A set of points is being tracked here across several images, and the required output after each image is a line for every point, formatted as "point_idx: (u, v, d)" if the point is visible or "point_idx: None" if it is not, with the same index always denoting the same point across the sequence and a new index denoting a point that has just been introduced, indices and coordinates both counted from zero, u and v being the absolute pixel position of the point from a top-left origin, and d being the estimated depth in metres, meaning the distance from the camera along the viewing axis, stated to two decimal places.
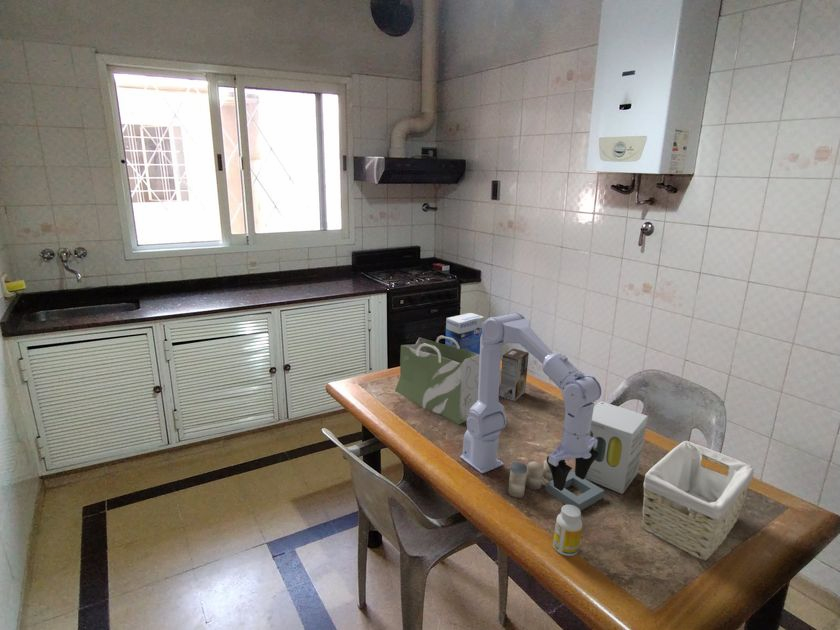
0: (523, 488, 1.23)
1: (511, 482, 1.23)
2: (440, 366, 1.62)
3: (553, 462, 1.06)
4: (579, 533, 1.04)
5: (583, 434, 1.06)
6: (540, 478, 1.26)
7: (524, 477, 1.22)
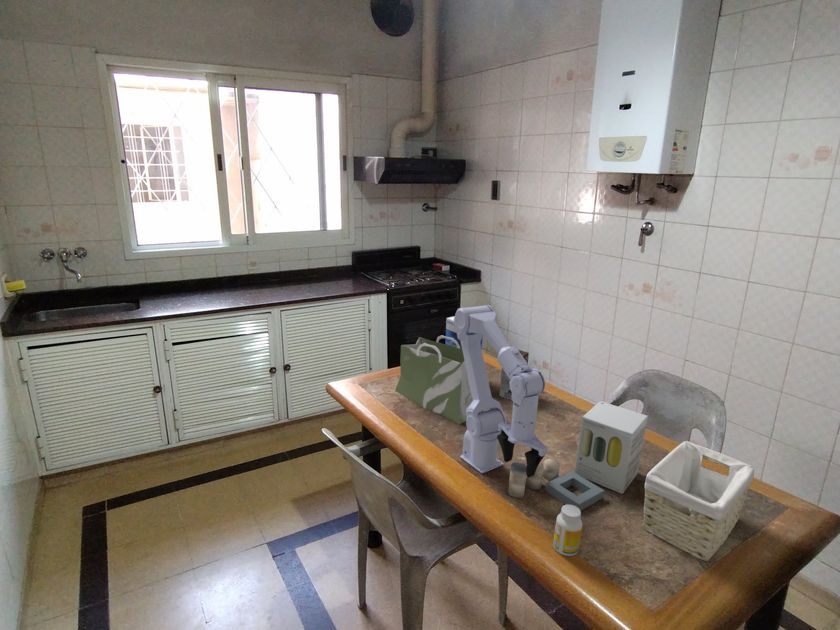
0: (523, 488, 1.23)
1: (511, 482, 1.23)
2: (440, 366, 1.62)
3: None
4: (579, 533, 1.04)
5: (527, 423, 1.17)
6: (540, 478, 1.26)
7: (524, 477, 1.22)
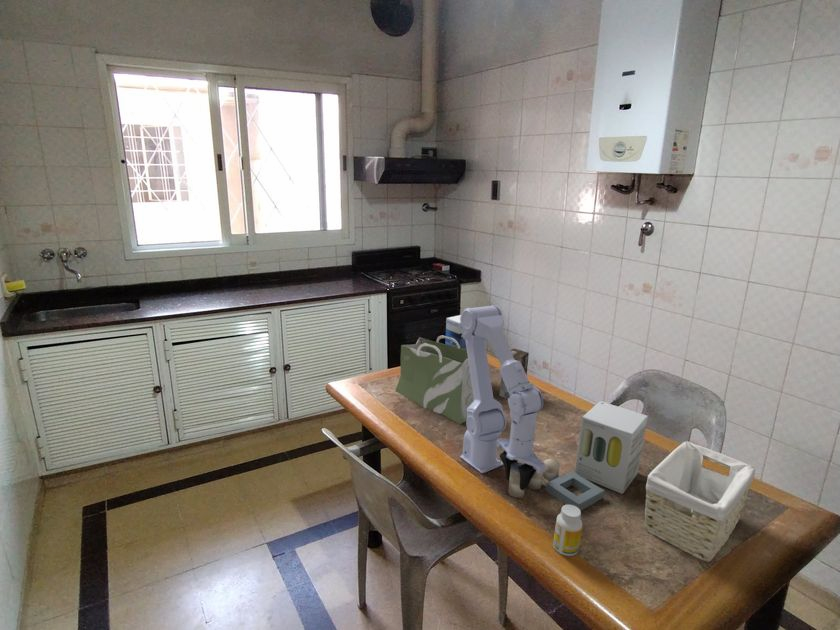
0: None
1: (511, 482, 1.23)
2: (441, 366, 1.62)
3: None
4: (579, 533, 1.04)
5: (525, 440, 1.18)
6: (540, 478, 1.26)
7: None
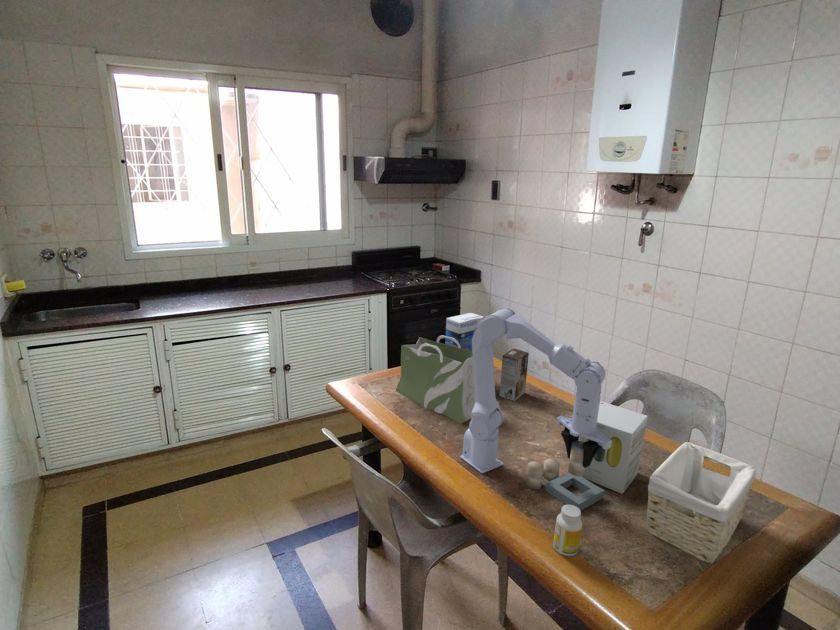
0: None
1: (572, 459, 1.21)
2: (442, 366, 1.62)
3: None
4: (579, 533, 1.04)
5: (595, 415, 1.17)
6: (540, 478, 1.26)
7: None
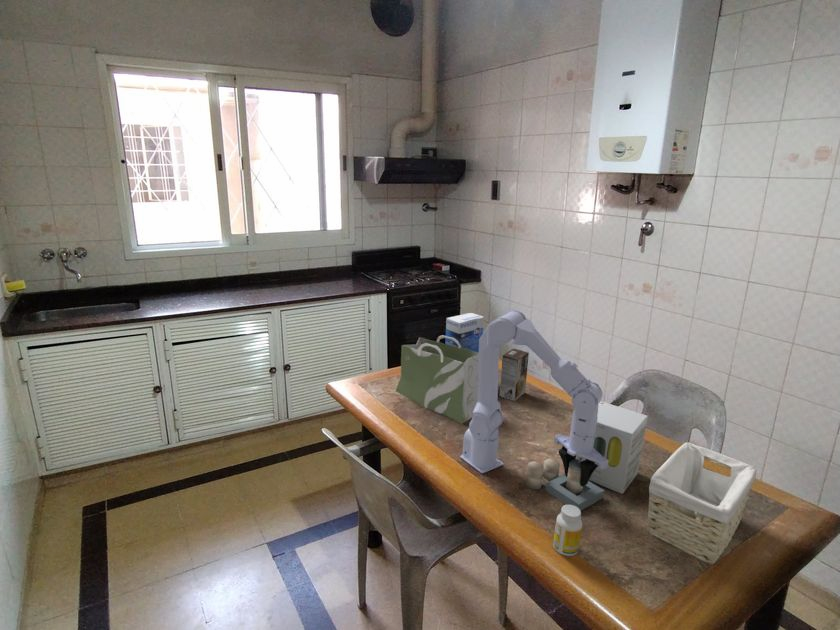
0: None
1: (569, 478, 1.23)
2: (442, 366, 1.62)
3: None
4: (579, 533, 1.04)
5: (593, 435, 1.18)
6: (540, 478, 1.26)
7: None
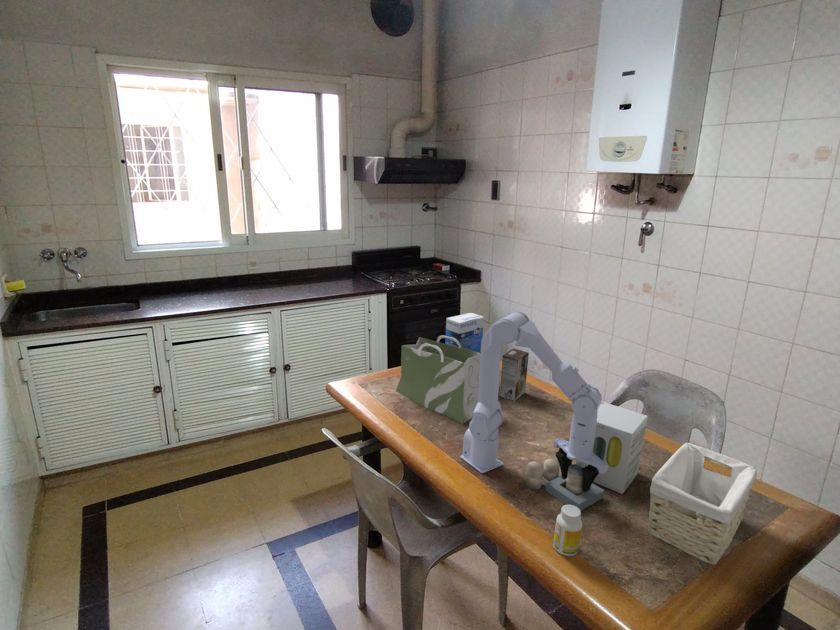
0: (580, 490, 1.23)
1: (568, 483, 1.23)
2: (443, 366, 1.62)
3: None
4: (579, 533, 1.04)
5: (592, 439, 1.18)
6: (540, 478, 1.26)
7: (582, 479, 1.22)
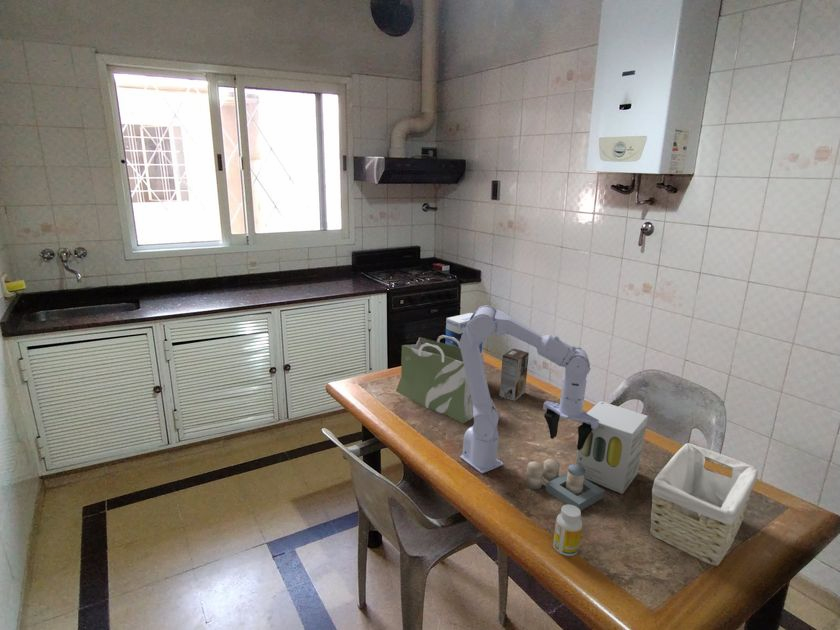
0: (580, 490, 1.23)
1: (568, 483, 1.23)
2: (443, 366, 1.62)
3: None
4: (579, 533, 1.04)
5: (583, 397, 1.25)
6: (540, 478, 1.26)
7: (582, 479, 1.22)
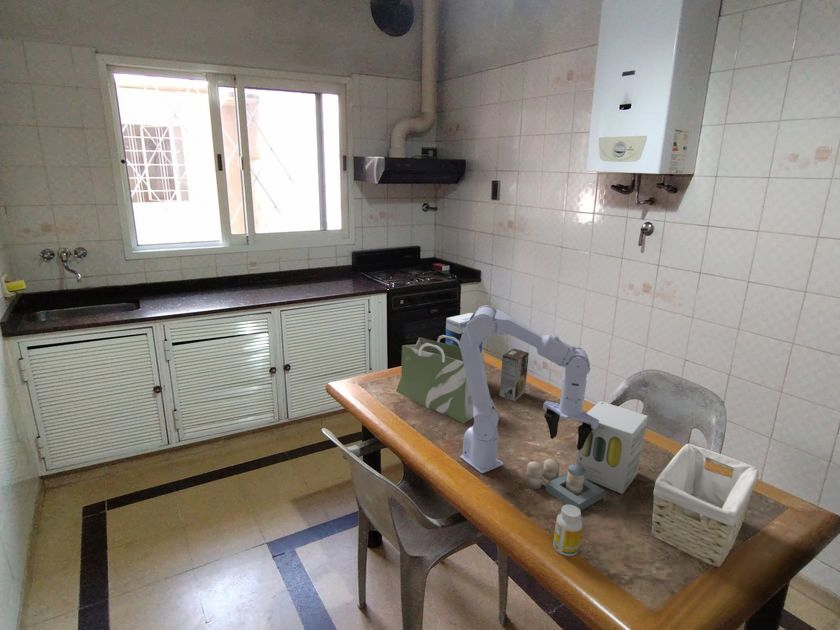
0: (580, 490, 1.23)
1: (568, 483, 1.23)
2: (444, 366, 1.62)
3: None
4: (579, 533, 1.04)
5: (583, 397, 1.25)
6: (540, 478, 1.26)
7: (582, 479, 1.22)
